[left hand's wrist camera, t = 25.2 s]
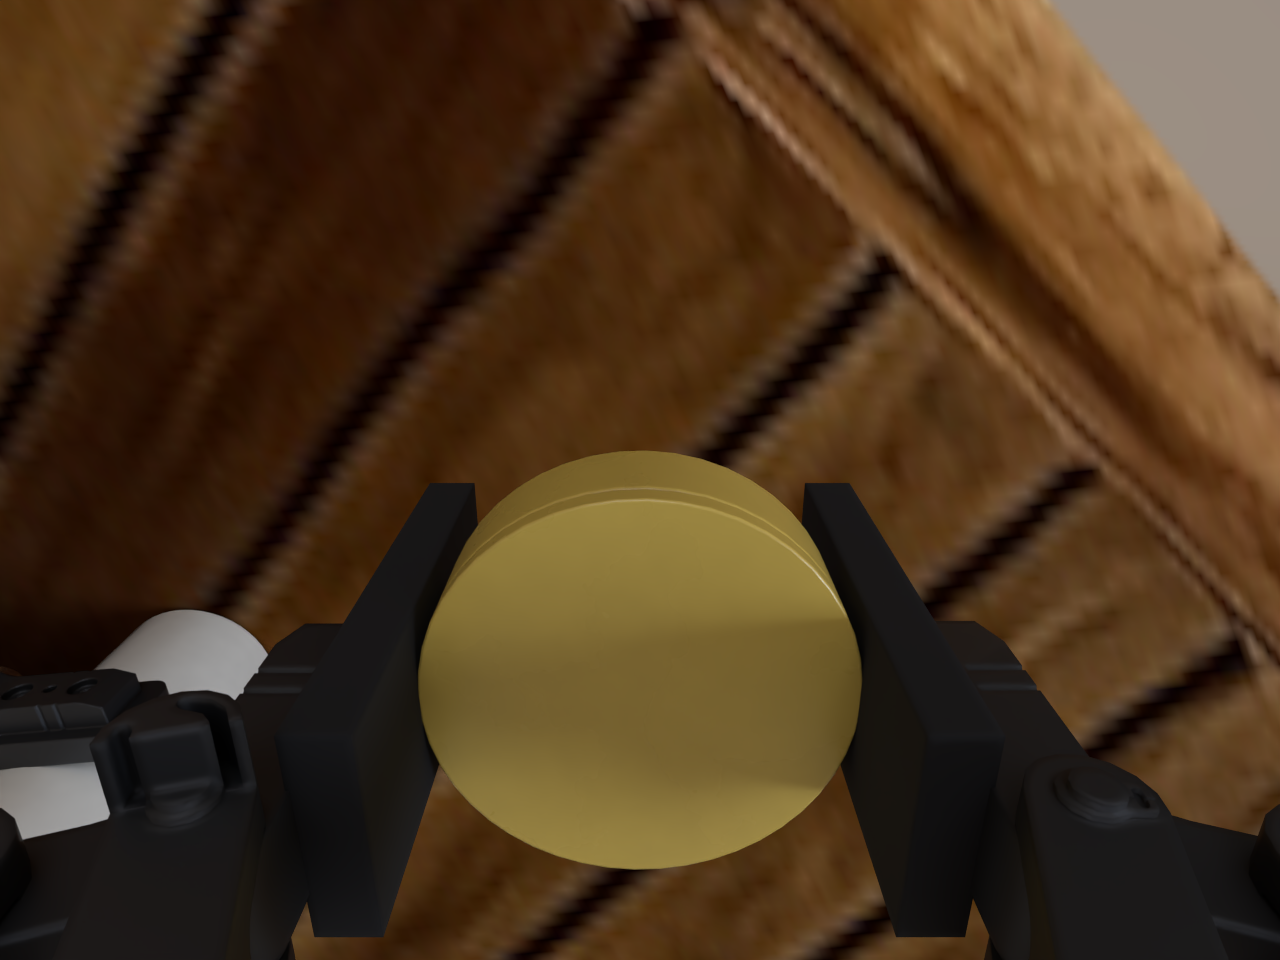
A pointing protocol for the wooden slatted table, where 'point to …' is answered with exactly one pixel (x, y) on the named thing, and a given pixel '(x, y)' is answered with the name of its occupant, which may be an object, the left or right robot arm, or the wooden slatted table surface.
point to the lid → (640, 664)
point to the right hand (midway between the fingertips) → (183, 804)
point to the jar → (157, 650)
